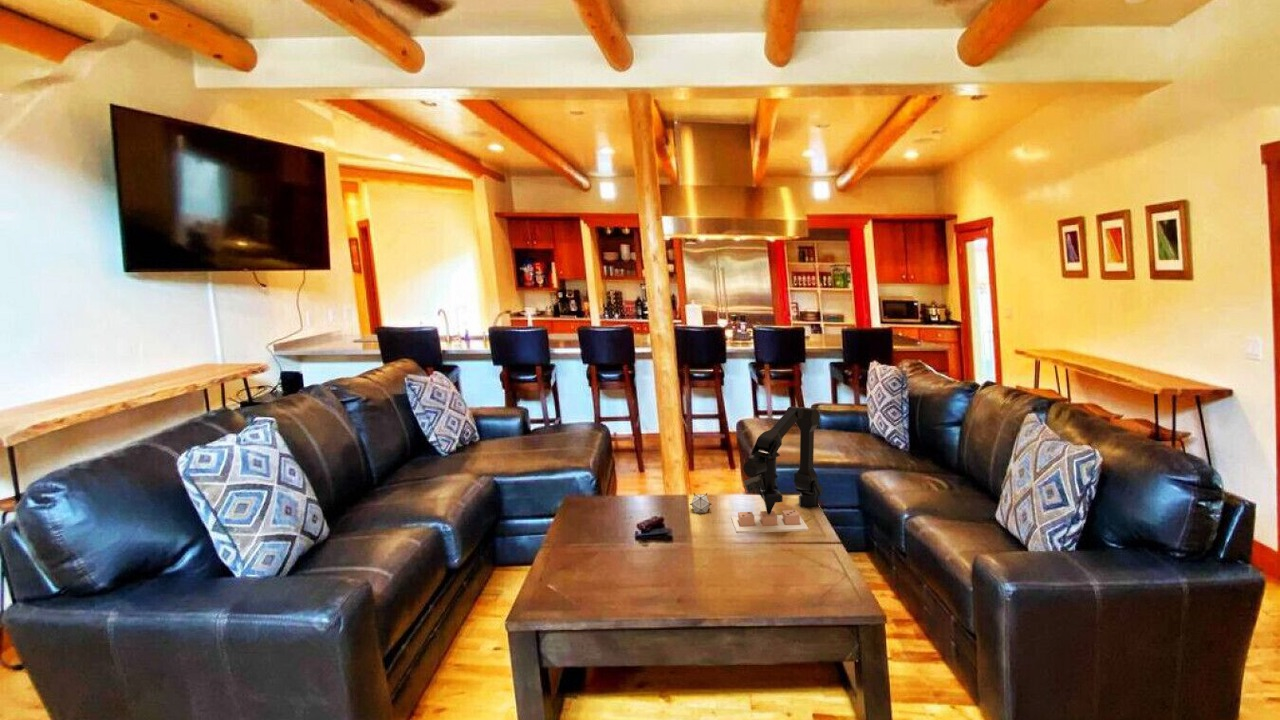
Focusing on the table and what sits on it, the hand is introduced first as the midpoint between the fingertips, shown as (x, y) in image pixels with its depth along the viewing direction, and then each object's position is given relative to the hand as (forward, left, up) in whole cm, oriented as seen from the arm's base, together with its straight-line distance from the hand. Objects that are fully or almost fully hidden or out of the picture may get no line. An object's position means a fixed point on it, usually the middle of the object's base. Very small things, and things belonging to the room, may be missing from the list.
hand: (768, 512), depth 216 cm
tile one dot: (0, 0, -4) cm, 4 cm away
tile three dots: (-8, 0, -4) cm, 9 cm away
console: (0, 0, -6) cm, 6 cm away
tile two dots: (+8, 0, -4) cm, 9 cm away
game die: (+23, -15, -6) cm, 28 cm away
